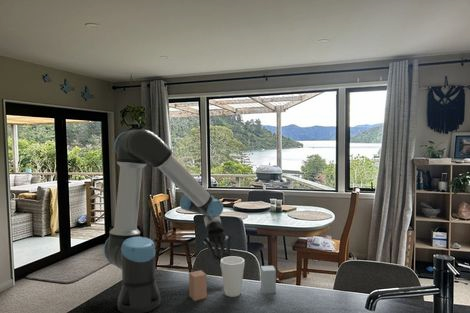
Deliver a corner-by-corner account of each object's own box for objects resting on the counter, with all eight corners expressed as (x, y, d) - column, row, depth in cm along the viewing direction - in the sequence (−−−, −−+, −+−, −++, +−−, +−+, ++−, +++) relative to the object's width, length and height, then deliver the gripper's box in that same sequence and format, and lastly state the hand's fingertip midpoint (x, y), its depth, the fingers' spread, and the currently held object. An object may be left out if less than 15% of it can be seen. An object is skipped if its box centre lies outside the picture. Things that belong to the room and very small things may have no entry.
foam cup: (234, 300, 122) (234, 266, 121) (215, 294, 127) (215, 261, 127) (249, 291, 129) (249, 259, 129) (230, 285, 135) (230, 254, 134)
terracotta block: (194, 300, 122) (194, 277, 122) (189, 295, 126) (189, 272, 126) (206, 297, 124) (206, 274, 124) (201, 292, 129) (200, 270, 128)
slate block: (263, 293, 128) (263, 270, 127) (260, 288, 132) (260, 266, 132) (275, 292, 128) (275, 270, 128) (273, 287, 133) (272, 265, 133)
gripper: (201, 222, 146) (212, 272, 131) (228, 219, 151) (242, 267, 136) (198, 231, 151) (209, 280, 136) (225, 228, 156) (238, 275, 141)
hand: (225, 273), depth 136 cm, fingers closed
